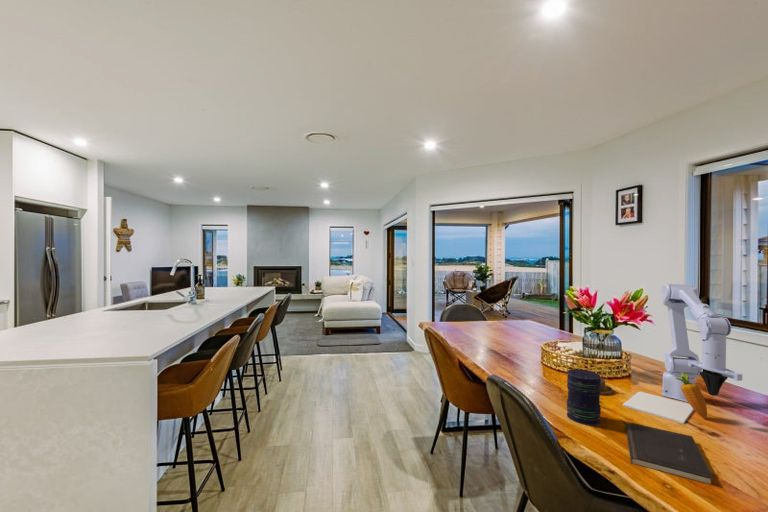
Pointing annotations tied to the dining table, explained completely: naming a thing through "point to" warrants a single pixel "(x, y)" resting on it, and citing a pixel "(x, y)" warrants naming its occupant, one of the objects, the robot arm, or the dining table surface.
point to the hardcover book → (666, 452)
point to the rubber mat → (660, 407)
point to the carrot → (693, 395)
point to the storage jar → (583, 396)
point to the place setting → (605, 388)
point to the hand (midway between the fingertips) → (713, 394)
